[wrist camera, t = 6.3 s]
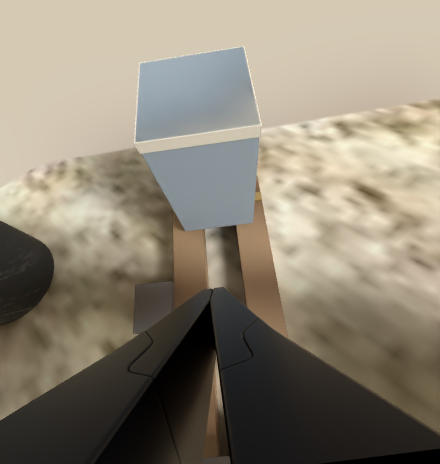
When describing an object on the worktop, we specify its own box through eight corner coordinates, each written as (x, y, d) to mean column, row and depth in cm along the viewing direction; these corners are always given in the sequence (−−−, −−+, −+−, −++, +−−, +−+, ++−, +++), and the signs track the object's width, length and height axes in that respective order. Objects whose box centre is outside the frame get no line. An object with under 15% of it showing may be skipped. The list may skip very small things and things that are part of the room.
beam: (319, 535, 12) (351, 618, 9) (142, 545, 13) (101, 628, 9) (251, 163, 22) (253, 129, 18) (151, 177, 22) (133, 146, 19)
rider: (252, 232, 19) (261, 125, 9) (189, 240, 19) (133, 143, 10) (244, 179, 21) (244, 45, 11) (187, 187, 21) (139, 62, 12)
